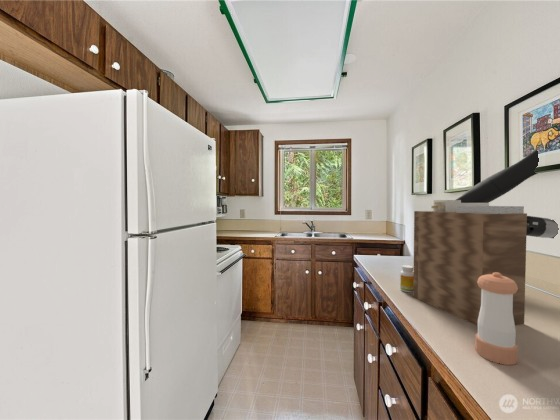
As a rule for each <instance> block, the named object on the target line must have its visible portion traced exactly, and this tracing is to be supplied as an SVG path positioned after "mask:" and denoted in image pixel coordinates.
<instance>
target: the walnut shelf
mask: <svg viewBox="0 0 560 420" xmlns="http://www.w3.org/2000/svg"><path fill="white" fill-rule="evenodd" d="M413 213H414V216H413V217H414V219H413V222H414V223H413V224H414V225H413V226H414V227H413V272H414V285H413V292H412V293H413V294H412V295H413V297H414V298H415V299H418V300H420V301H422V302H424V303H426V304H429V305H431V306H433V307H435V308H437V309H440V310H442V311H444V312H446V313H449V314H450V315H453V316H454V317H457V318H459V319H461V320H463V321H466V322H468V323H470V324H471V325H475V326H477V327H478V317H479V312H480V308H481V290H482V288H480V287H479V286H478V283H477V281H478V278H479V277H480V276H482V275H487V274H493V273H494V272H498V273H500V274H501V275H502V276H505V277H508V278H510V279H512V280H513V281H515V283H516V284H517V287H518V290H517V292H516V293H515V294H513V318H514V324H515V327H516V326H521V325H525V311H526V310H525V306H526V303H525V302H526V269H527V268H526V265H527V263H526V261H527V236H526V232H527V216H528V213H525V212H524V213H519V214H480V213H456V212H433V210H414V212H413Z"/></svg>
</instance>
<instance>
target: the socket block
mask: <svg viewBox="0 0 560 420" xmlns="http://www.w3.org/2000/svg"><path fill="white" fill-rule="evenodd" d="M524 211H525V209H524V206H523V205H522V206H513V205H489V206H456V213H480V214H519V213H525V212H524Z"/></svg>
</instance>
